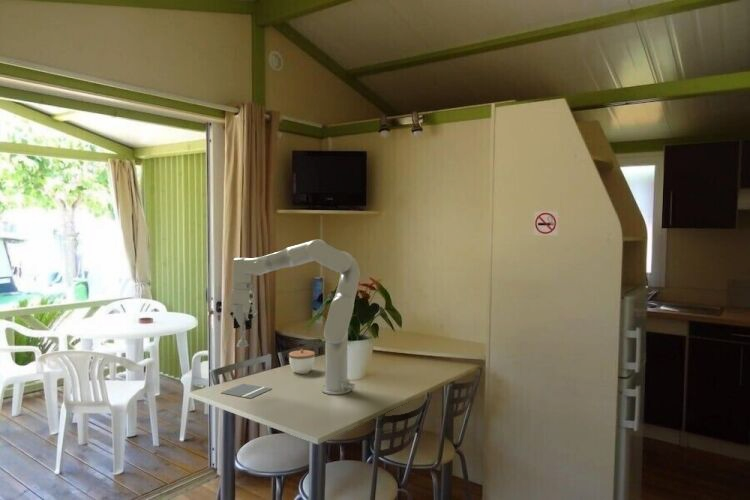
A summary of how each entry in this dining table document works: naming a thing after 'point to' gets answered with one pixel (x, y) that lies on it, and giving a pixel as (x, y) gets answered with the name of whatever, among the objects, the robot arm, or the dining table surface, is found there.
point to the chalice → (241, 321)
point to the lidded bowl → (302, 360)
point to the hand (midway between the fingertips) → (242, 328)
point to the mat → (246, 391)
